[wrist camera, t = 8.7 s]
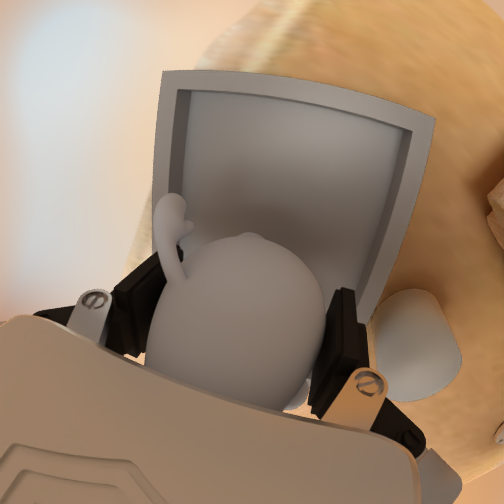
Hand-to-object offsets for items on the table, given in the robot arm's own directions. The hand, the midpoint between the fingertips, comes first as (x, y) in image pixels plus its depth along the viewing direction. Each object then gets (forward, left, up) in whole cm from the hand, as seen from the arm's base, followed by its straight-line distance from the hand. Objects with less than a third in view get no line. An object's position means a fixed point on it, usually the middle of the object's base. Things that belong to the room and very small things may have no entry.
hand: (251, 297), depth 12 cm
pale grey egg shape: (-10, +3, -5) cm, 12 cm away
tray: (0, 0, -5) cm, 5 cm away
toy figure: (0, 0, -3) cm, 3 cm away
